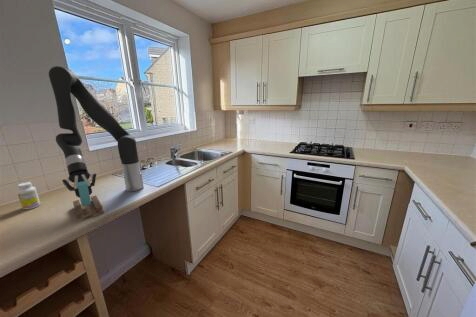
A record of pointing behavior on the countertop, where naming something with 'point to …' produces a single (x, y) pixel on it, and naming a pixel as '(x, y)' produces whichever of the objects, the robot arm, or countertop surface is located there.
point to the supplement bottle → (28, 196)
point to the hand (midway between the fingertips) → (84, 195)
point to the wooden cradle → (88, 209)
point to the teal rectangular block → (84, 193)
